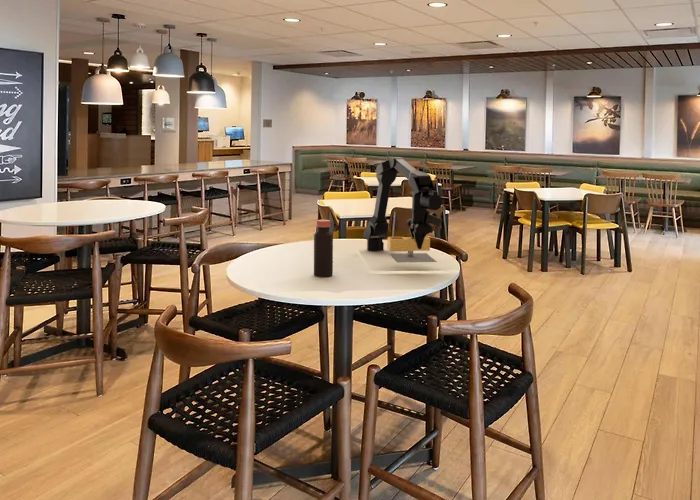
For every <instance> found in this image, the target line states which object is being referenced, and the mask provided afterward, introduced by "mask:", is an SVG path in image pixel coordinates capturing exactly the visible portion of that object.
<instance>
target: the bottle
mask: <svg viewBox="0 0 700 500" xmlns="http://www.w3.org/2000/svg"><path fill="white" fill-rule="evenodd" d="M316 228H317V230H316V232H315V233H313V275H314V276H315V277H316V278H317V277H318V278H329V277H332V276H333V275H334V273H333V271H334V269H333V268H334V263H333V262H334V261H333V259H334V256H333V255H334V254H333V253H334V244H333V243H334V235H333V234H334V233H332V232H331V230H330V229H331V220H330V219H317V220H316Z"/></svg>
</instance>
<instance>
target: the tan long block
mask: <svg viewBox="0 0 700 500" xmlns="http://www.w3.org/2000/svg"><path fill="white" fill-rule="evenodd" d="M386 243H387V245H386V247H387V249H388V251H389V252H391V253H392V252H394V253H395V252H408V251H413V252H417V251H418V252H420V251H423V252H424V251H425V252H427V251H431V238H429V237H427V236H425V238H424V241H423V244H422V248H421V249H418V247H417V244H416V240H415V237H412V236H407V237H405V236H387V242H386Z"/></svg>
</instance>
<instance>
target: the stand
mask: <svg viewBox="0 0 700 500" xmlns="http://www.w3.org/2000/svg"><path fill="white" fill-rule="evenodd" d="M389 255H390V257H392V259H393V260H394V261H395V262H396V263H437V262H438V261H437V260H436V259H434V258H433V257H432V256H431V255H429V254H428V253H427V252H417V253H416V252H414V251H407V253H406V252H405V253H404V252H403V253H399V252H398V253H397V252H396V253H395V252H394V253H392V252H391V253H389Z"/></svg>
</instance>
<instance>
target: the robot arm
mask: <svg viewBox="0 0 700 500" xmlns="http://www.w3.org/2000/svg"><path fill="white" fill-rule="evenodd" d="M375 170H376V171H375V177H376V179H377V182H378V188H377V191H376V192H377V193H376V198H375V205H374V206H375V207H374V210H373V211H374V212H373V215H372V216H371V217H370V219H369V220H368V224H367V226H366V228H365V230H364V232H363V239H365V240H366V250H367V252H384V244H385V243H384V242H383V240H384V239H387V234H388V232H389V222H387V219H386V214H387V209H388V204H389V203H388V202H389V197H390V191H391V186H392V184H394V182H395V181H396V179H397V175H398V174H399V173H400V174H401V175H402V176H403V177H405V179H407V181H408V182H407V184H408V185H409V186H410V188H411V189H412V190H410V192H409V194H410V195H412V198H411V199H412V200H411V202H412V203H411V204H412V205H411V206H412V207H411V208H410V212H411V218H408V219H407V220H406V227H408V231H409V234H410V235H411V236H410V237H415V240H416V244H417V247H418V249H421V248H422V244H423V241H424V238H425V237H427V235H429V234H432V233H433V232H434V231H433V229H434V228H433V226H432V225H434V226H436V227H437V228H440V227H441V224H442V221H443V218H440V217H439V216H438V214H437V213H435V212H431V213H430V211H437V210H439V209H440V208H441V207H442V204H443V200H442V197H441V196H440V195H439V191H437V190H436V187H435V185H434V183H433V180H432V177H431V175H430V173H427V172H425V171H420V170H418V169H416V168H415V167H414V166H412V165H411V164H410V163H408V162H407V161H406V160H405V158H404V157H401V156H396V157H395V156H392V157H391V158H389V159H388V160H385V161H383V162H381V163H379V164H378V165H377V166H376V169H375ZM429 210H430V211H429Z"/></svg>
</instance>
